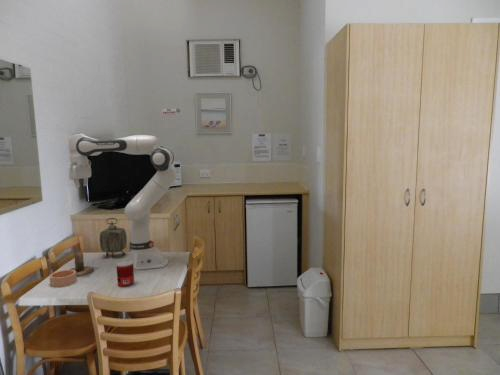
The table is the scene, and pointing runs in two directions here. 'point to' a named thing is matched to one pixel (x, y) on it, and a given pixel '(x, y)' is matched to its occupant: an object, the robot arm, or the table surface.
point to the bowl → (63, 278)
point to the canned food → (125, 273)
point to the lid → (81, 265)
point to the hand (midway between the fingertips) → (81, 186)
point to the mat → (90, 273)
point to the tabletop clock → (113, 239)
